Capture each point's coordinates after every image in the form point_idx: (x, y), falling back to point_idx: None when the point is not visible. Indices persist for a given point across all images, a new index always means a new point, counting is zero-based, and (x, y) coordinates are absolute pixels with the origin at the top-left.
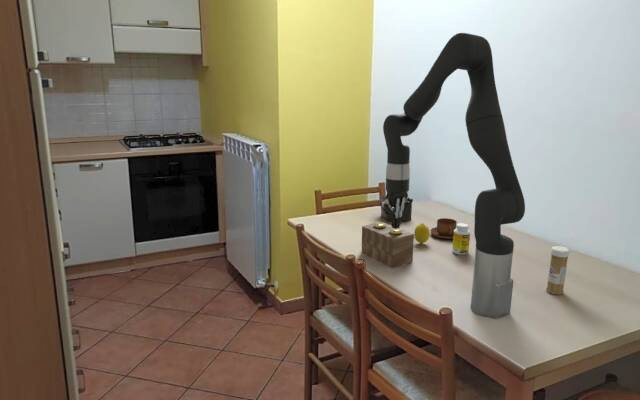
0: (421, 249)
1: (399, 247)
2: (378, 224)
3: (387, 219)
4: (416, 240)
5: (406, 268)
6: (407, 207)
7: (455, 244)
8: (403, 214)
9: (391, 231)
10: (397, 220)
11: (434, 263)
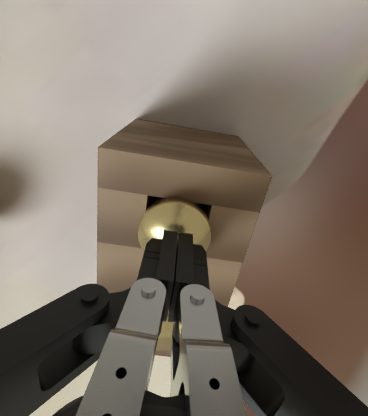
0: (11, 173)
1: (216, 150)
2: (163, 334)
3: None
4: None
5: (205, 95)
6: (18, 343)
7: None
8: None
9: (209, 241)
10: (184, 268)
11: (71, 38)
